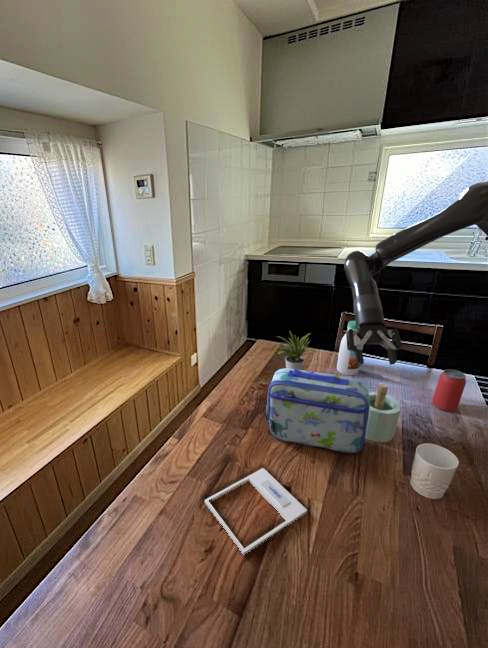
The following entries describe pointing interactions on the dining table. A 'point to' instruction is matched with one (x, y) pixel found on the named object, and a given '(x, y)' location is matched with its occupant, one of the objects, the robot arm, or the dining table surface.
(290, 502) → the photo frame
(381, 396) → the brush
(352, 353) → the milk bottle
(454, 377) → the beer can
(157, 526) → the dining table surface
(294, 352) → the house plant
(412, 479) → the white cup
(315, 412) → the lunch box
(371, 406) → the jar
